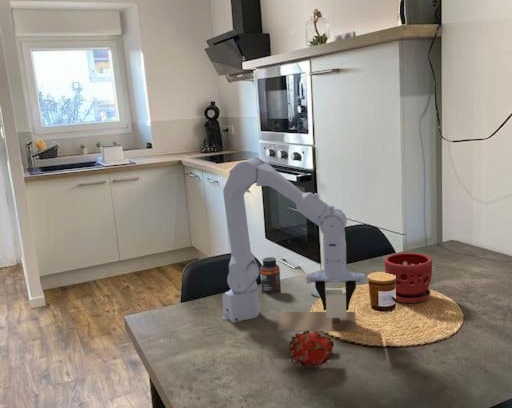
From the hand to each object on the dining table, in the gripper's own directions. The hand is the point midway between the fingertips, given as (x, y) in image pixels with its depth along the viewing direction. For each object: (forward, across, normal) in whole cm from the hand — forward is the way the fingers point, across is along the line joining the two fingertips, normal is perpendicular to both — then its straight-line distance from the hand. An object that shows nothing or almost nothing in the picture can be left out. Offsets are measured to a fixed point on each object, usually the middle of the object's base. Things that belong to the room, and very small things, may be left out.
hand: (335, 308), depth 137 cm
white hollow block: (+1, 0, 0) cm, 1 cm away
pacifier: (+5, -4, +21) cm, 22 cm away
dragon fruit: (+5, -6, -19) cm, 21 cm away
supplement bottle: (+5, -19, +23) cm, 30 cm away
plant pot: (+5, +21, +20) cm, 30 cm away
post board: (+5, -5, 0) cm, 7 cm away
